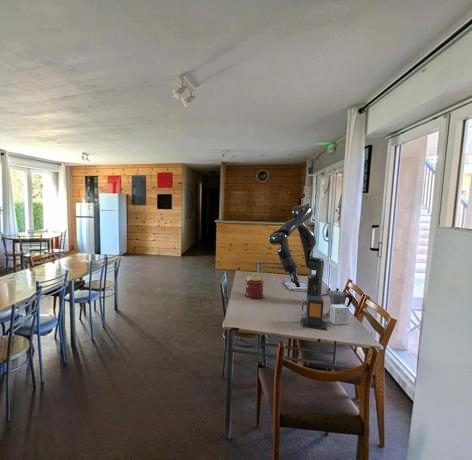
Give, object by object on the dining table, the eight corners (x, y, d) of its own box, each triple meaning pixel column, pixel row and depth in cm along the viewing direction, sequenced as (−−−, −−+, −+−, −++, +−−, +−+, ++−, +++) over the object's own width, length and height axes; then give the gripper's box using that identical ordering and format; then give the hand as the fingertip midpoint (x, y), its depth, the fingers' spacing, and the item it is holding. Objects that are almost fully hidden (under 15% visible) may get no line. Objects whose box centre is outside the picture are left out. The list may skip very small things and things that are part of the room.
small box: (341, 320, 177) (343, 304, 176) (347, 324, 171) (349, 307, 170) (329, 321, 176) (330, 304, 175) (334, 324, 171) (335, 307, 170)
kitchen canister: (256, 300, 212) (257, 276, 211) (241, 296, 222) (242, 273, 220) (266, 296, 221) (267, 274, 219) (251, 292, 230) (252, 270, 229)
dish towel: (290, 290, 236) (290, 287, 236) (282, 282, 260) (282, 279, 259) (312, 291, 235) (312, 288, 234) (302, 283, 258) (302, 280, 258)
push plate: (300, 307, 176) (301, 298, 176) (302, 307, 176) (303, 298, 175) (301, 310, 170) (301, 302, 170) (303, 310, 170) (303, 302, 169)
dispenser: (301, 318, 179) (303, 293, 178) (323, 322, 175) (325, 296, 173) (302, 326, 168) (304, 299, 166) (326, 330, 164) (327, 302, 162)
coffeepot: (321, 314, 186) (323, 287, 184) (327, 311, 193) (328, 284, 191) (348, 322, 175) (351, 293, 173) (353, 318, 181) (355, 290, 180)
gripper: (294, 266, 167) (304, 291, 171) (294, 255, 179) (304, 279, 182) (281, 269, 171) (291, 293, 174) (282, 259, 182) (292, 282, 186)
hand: (298, 286), depth 178 cm, fingers closed
